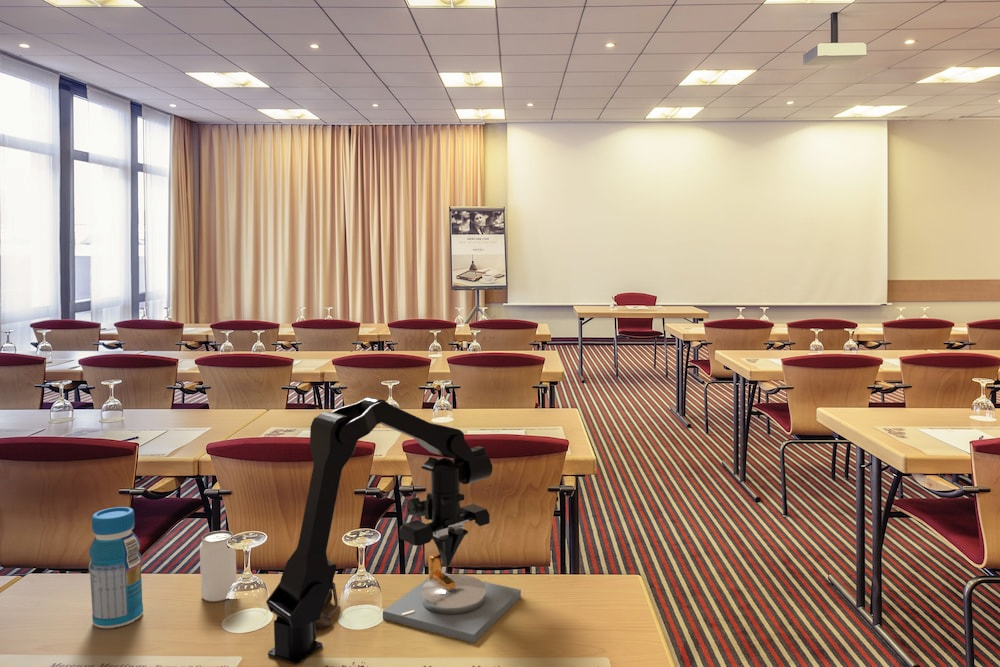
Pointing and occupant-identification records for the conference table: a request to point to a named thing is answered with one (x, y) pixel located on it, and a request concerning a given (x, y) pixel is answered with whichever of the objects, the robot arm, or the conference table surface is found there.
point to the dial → (451, 590)
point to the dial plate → (453, 625)
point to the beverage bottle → (115, 569)
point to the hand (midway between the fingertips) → (446, 565)
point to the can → (217, 566)
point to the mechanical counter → (325, 617)
